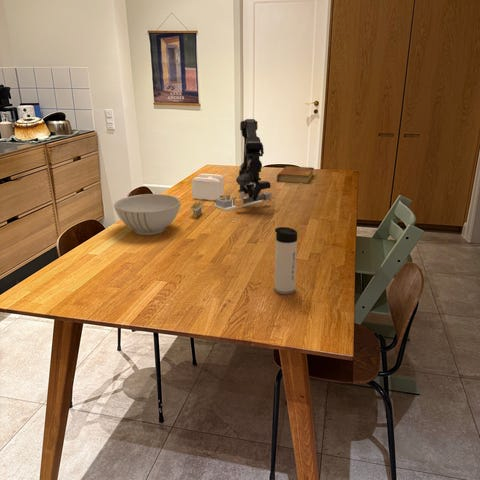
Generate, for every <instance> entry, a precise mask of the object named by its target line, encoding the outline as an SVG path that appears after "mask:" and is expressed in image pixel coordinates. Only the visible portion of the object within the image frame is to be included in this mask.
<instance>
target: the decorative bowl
mask: <svg viewBox="0 0 480 480" xmlns="http://www.w3.org/2000/svg"><path fill="white" fill-rule="evenodd" d="M181 203H182V202H181V199H180V198H178V197H176V196H173V195H170V194H161V193H160V194H159V193H144V194H137V195H131V196H126V197H123V198H120V199H117V201H115V202H114V204H113V208H114V210H115V212H116V215H117V216H118V218H119V220H121V222H122V223H123V224H124V225H125V226H126V227H128V228H129V229H131V230H132V231H134V232H135V233H136V234H138V235H141V236H152V235H154V236H155V235H158V234H161V233H163V232H164V231H165V229H166V228H167V227H168V226H170V225H171V224H172V223H173V221H174V220H175V219H176V217H177V215H178V213H179V211H180V208H181Z"/></svg>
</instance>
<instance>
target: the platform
mask: <svg viewBox="0 0 480 480" xmlns="http://www.w3.org/2000/svg"><path fill="white" fill-rule="evenodd" d="M203 206H204V202H201V200H200V201H198V203H197V201H195V202H193V204H192V206H191V207H190V210H191V211H192V210H193V211H192V213H193V217H194V218H196V219H198V217H199V216H200V215H201V214H202V207H203Z"/></svg>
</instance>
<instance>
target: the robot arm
mask: <svg viewBox="0 0 480 480" xmlns="http://www.w3.org/2000/svg"><path fill="white" fill-rule="evenodd" d="M258 129H259V127H258V121H257V120H256V119H254V118H246V119H244V120H242V121H240V124H239V130H240V133H241V136H242V137H243V159H242V160H243V162H242V163H241V164H240V168H239V170H238V175H237V177H236V179H235V180H236V183H237V185H239V189H238V192H239V193H240V192H244V194H248V195H249V198H250V197H253V200H254V201H255V200H256V199H257V197H258V196H259V195H260V193H261V191H262V190H266V189H270V188H271V182H270V181H267V180H262V178H261V177H260V173H261V172H262V168H263V163H262V161H261V158H260V157H263V155H264V144H263V142H261V138H260V137H259V136H257V130H258Z"/></svg>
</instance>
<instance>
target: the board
mask: <svg viewBox="0 0 480 480" xmlns="http://www.w3.org/2000/svg"><path fill="white" fill-rule="evenodd" d="M239 193H240V199H245V198H249V195H248V193H246V197H245V193H244V192H240V191H239ZM234 199H238V197H237V196H232V199H231V195H230V194H226V195H225V197H224V196H223V197H220V198H218V199H216V200H215V203H214V204H213V207H214V208H217V209H220V210H221V211H222V210H223V211H225V212H227V211H231V210H235V209H240V208H245V207H248V206H254V205H258V204H262V203H263V201H264V200H260V201H255V202H251V203H246V204H243V206H240V207H237V206H234Z"/></svg>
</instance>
